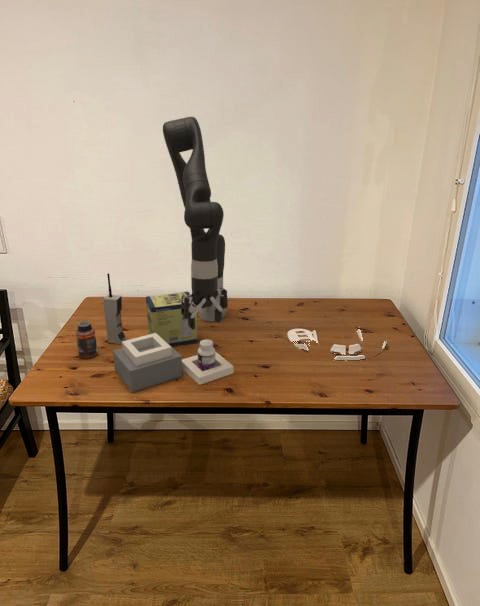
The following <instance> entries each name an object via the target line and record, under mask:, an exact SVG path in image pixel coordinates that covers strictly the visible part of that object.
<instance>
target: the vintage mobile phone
mask: <svg viewBox="0 0 480 606" xmlns="http://www.w3.org/2000/svg"><path fill="white" fill-rule="evenodd" d="M107 283H108V294H107V295H106V296H104V298H103V299H102V303H103V304H102V305H103V313H104V320H105V327H106V339H107V343H108V344H114V345H122V341H126V340H127V337H126V335H125V333H124V331H123V324H122V323H123V322H122V313H121V311H122V310H123V305H122V302H123V297H122V295H117V294H112V287H111V278H110V273H107Z"/></svg>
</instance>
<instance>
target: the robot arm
mask: <svg viewBox="0 0 480 606" xmlns="http://www.w3.org/2000/svg"><path fill="white" fill-rule="evenodd" d="M162 133H163V138H164V142H165V144H166V148H167V151H168V155H169V157H170V159H171V163H172V166H173V169H174V172H175V175H176V179H177V184H178V188H179V192H180V196H181V201H182V203H183V207H184V213H183V214H184V215H183V218H184V219H183V220H184V223H185V225H186V226H187V227H188V228H189V230H190V231H189V232H190V238H191V242H190V243H191V245H190V246H191V263H190V276H191V277H190V279H191V281H190V282H191V293H190V295H191V296H184V295H183V296H182V298H181V314H182V315H183V316H184V317H185V318H187V317H188V326H189V327H190V328H191V329H192V330H193V329H195V318H194V316H195V315H196V313H199V318H200V319H201V320H202V321H205V322H216V323H217V324H220V323H221V322H222V320H223V318H225V317H226V309H228V306H229V303H228V291H227V289H225V288H224V269H225V256H226V255H225V254H226V241H225V237H224V236H223V235H222V234H220V231H221V228H222V225H223V221H224V210H223V209H224V208H223V207H222V205H221V204H220V203H219V202H217V201H211V196H212V191H211V187H210V182H209V177H208V174H207V168H206V158H205V157H206V156H205V149H204V142H203V135H202V131H201V126H200V124H199V122H198V120H197V118H196V117H194V116H187V117H181V118H177V119H172V120H168V121H166V122H164V123H163V125H162ZM188 151H192V152H191V155H190V156H189V158H188V161H187V162H186V161H185V159H184V158H183V156H182V154H181V153H183V152H188ZM206 229H207V231H205V230H206ZM191 300H192V301H193V302H192V304H191V305H190V309H189V304H190V301H191ZM195 305H196V308H195Z"/></svg>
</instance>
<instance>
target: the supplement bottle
mask: <svg viewBox="0 0 480 606" xmlns="http://www.w3.org/2000/svg"><path fill="white" fill-rule="evenodd" d="M75 337H76V345H77V351H78V355H79V357H80V358H82V359H91V358H94V357H96V356H97V355H98V353H99V352H98V344H97V343H98V342H97V335H96V330H95V328H93V326H92V323H91V321H88V320H86V321H85V320H84V321H81V322H78V323H77V329H76V331H75Z"/></svg>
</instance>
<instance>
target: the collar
mask: <svg viewBox="0 0 480 606" xmlns="http://www.w3.org/2000/svg"><path fill="white" fill-rule="evenodd" d="M215 366H216V367H215V368H212V369H209V370H205V371H201V370H200V369H199V368H198V354H196V355H192V356H190V357H186V358H183V359H182V371H183V370H184V372H185V373H186V374H187V375H188V376H189V377H190V378H191V379H192V380H193V381H195V382H196V384H197V385H199V386H200V385H203V384H207V383H209V382H212V381H214V380H219V379H221V378H224V377H226V376H227V377H228V376H230V375H232V374H234V368H235V367H234V365H233V364H231V363H230V362H229V361H228V360H226V358H224V357H223V356H222V355H221V354H219V353H218V352H217V351H215Z"/></svg>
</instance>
